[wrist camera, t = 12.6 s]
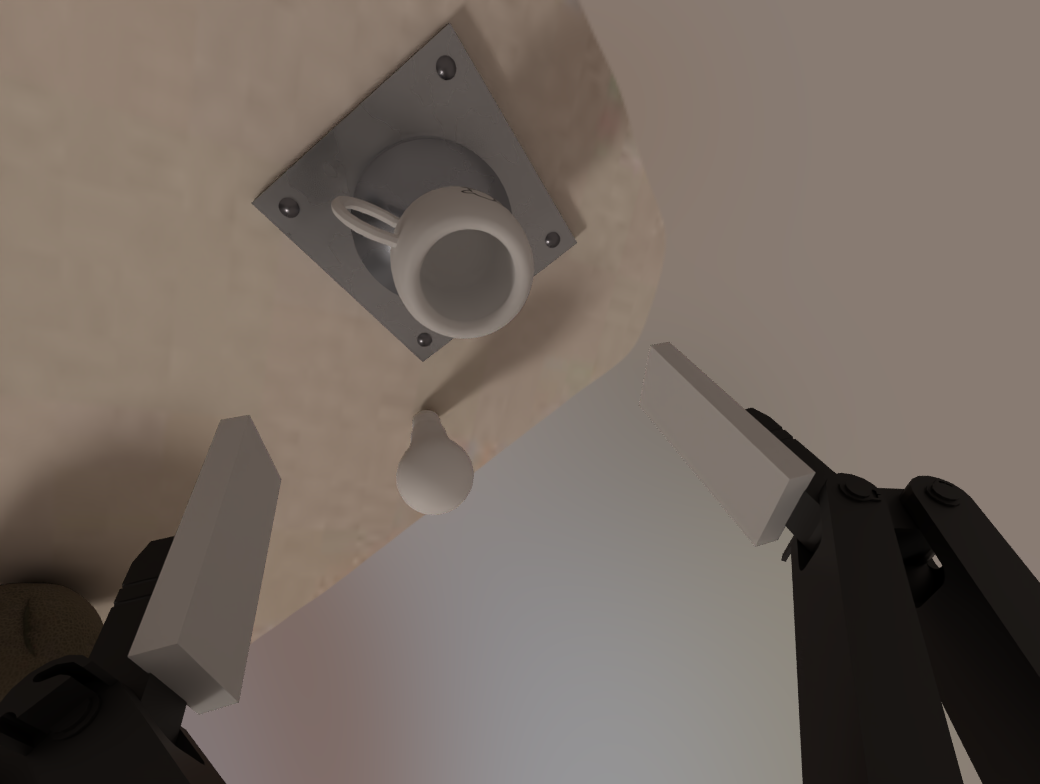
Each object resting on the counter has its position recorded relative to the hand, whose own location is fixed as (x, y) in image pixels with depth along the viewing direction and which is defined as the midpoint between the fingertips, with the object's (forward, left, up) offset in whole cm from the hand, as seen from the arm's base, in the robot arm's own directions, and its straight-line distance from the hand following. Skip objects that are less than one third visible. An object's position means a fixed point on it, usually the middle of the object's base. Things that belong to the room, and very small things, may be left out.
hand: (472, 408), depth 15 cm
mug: (0, +1, -20) cm, 20 cm away
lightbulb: (+13, -11, -22) cm, 28 cm away
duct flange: (0, +1, -22) cm, 22 cm away
